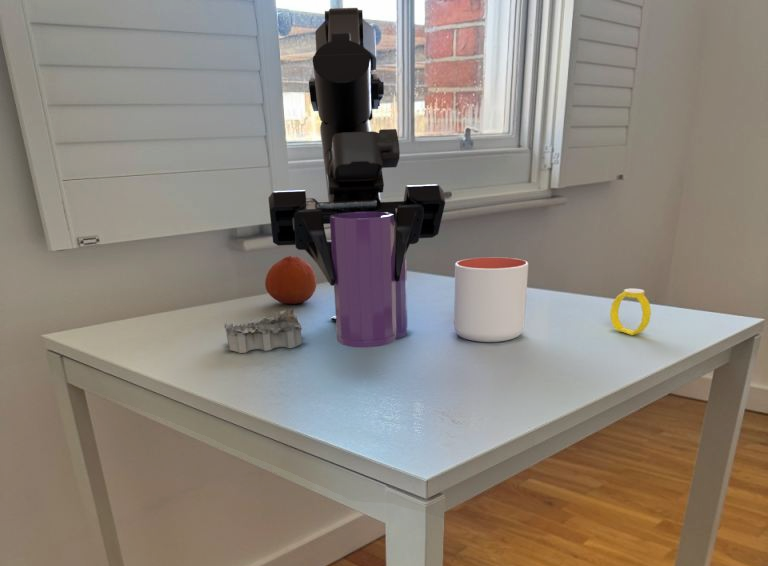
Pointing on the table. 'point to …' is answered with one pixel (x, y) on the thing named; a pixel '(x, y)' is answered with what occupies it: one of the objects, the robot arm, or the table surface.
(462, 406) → the table surface
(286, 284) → the fruit
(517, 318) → the cup
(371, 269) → the plum cup
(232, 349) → the egg carton
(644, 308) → the watch
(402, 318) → the plum cup
